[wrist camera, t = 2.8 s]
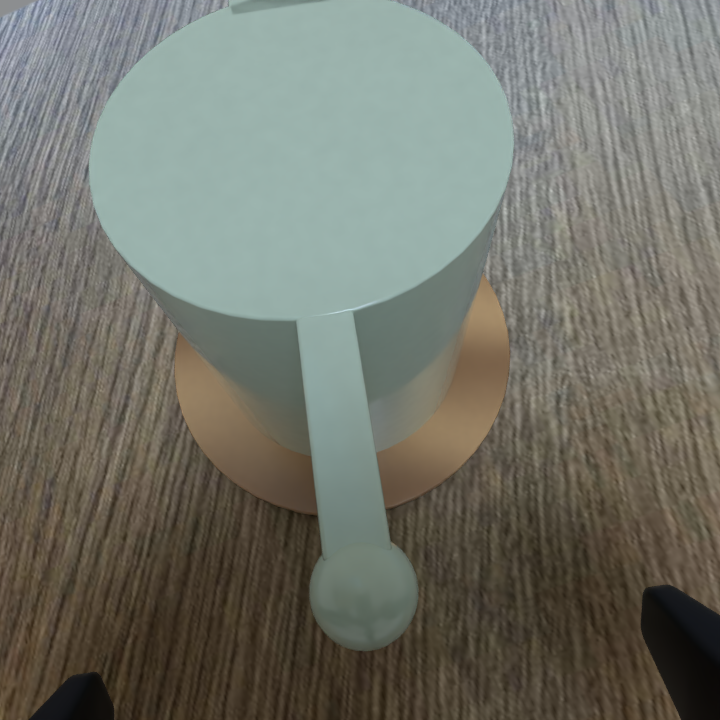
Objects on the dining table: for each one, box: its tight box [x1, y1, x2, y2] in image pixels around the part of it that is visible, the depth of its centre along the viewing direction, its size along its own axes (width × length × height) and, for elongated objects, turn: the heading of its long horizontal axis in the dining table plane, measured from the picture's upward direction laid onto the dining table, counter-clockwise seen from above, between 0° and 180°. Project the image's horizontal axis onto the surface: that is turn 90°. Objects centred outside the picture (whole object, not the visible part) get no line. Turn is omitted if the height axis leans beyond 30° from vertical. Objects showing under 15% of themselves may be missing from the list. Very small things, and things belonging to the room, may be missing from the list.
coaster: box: [175, 274, 510, 516], centre depth 21 cm, size 12×12×1 cm
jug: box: [89, 0, 514, 651], centre depth 15 cm, size 15×8×10 cm, turn 8°
